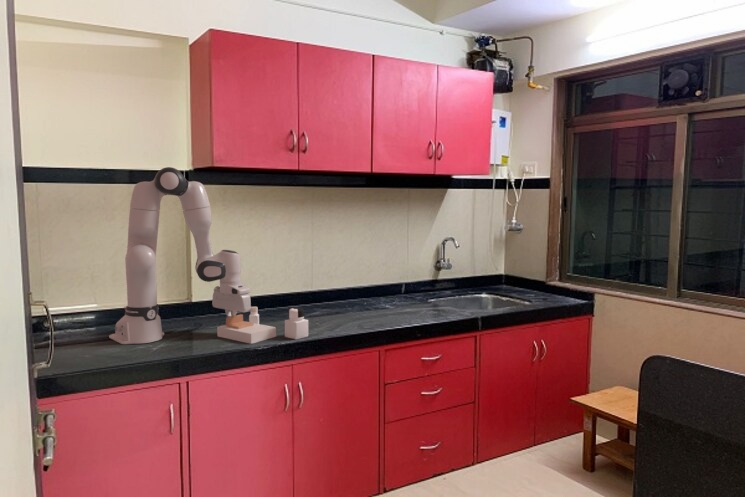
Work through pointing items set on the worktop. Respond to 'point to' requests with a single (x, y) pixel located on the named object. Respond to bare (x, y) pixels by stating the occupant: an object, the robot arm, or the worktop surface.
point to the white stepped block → (296, 324)
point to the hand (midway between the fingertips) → (231, 320)
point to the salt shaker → (254, 315)
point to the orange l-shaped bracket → (237, 322)
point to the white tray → (247, 333)
